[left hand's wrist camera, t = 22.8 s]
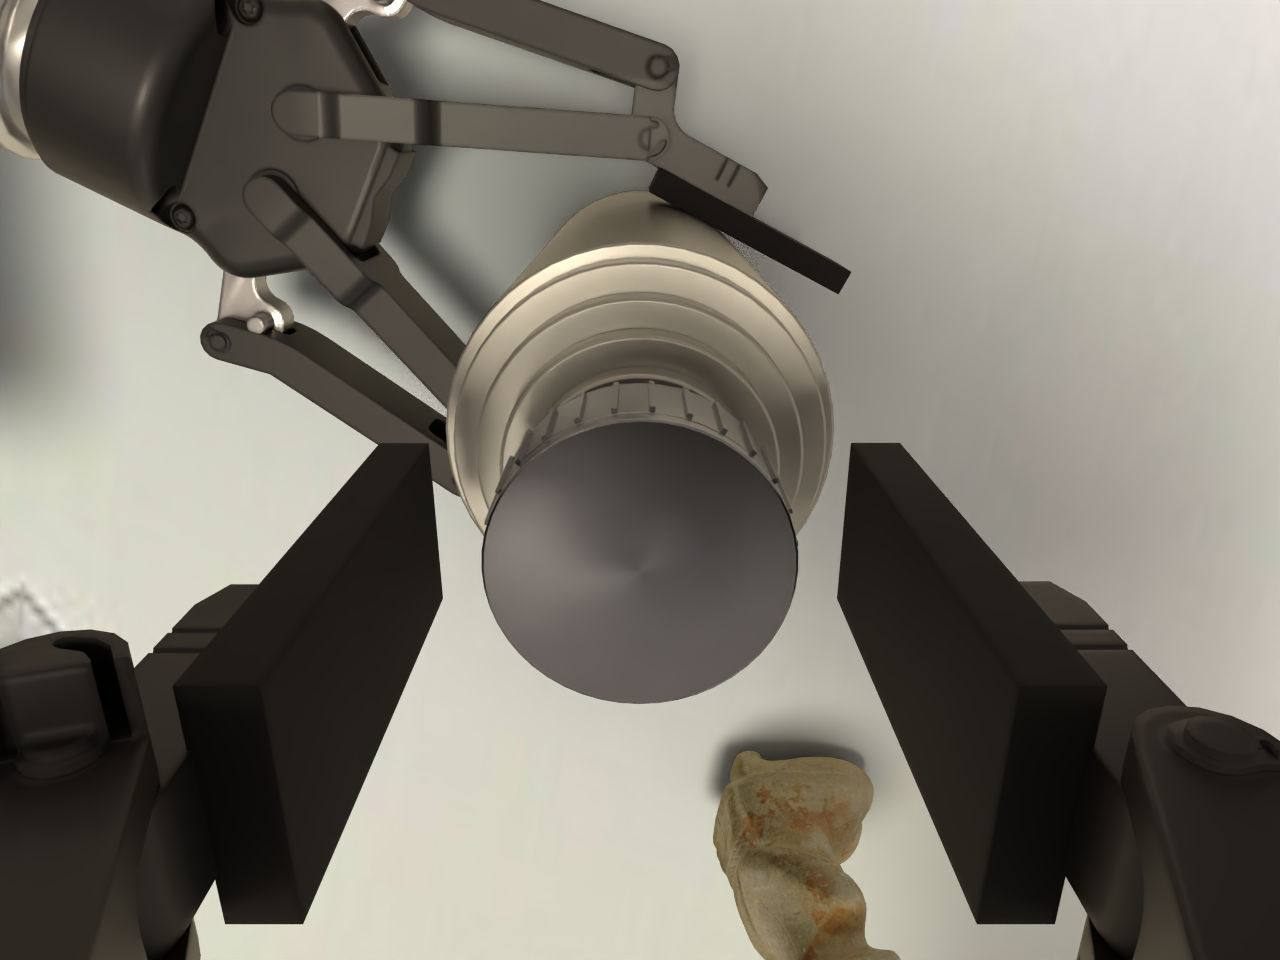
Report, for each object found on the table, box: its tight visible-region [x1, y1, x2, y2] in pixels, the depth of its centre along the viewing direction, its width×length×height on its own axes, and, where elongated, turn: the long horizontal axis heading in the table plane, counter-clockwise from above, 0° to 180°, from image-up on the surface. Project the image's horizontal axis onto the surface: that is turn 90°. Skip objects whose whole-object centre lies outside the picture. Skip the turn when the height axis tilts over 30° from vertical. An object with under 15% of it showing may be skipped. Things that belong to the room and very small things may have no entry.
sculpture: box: [713, 751, 900, 960], centre depth 36 cm, size 6×7×15 cm
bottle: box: [446, 191, 834, 536], centre depth 24 cm, size 8×8×23 cm
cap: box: [482, 381, 798, 704], centre depth 13 cm, size 5×5×2 cm
